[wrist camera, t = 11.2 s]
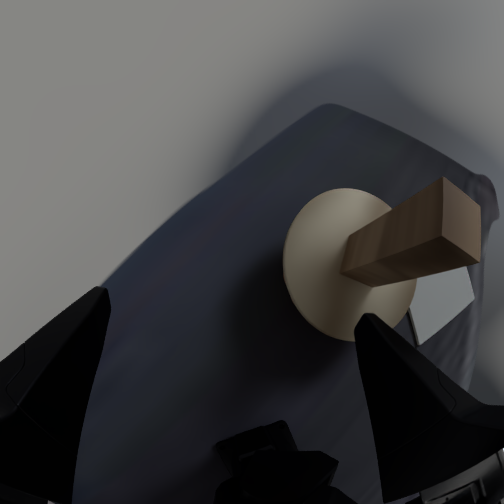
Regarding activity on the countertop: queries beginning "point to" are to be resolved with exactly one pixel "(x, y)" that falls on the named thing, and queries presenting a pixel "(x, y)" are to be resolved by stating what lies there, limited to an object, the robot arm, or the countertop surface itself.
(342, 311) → the lid
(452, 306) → the mat
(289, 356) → the countertop surface
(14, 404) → the robot arm
